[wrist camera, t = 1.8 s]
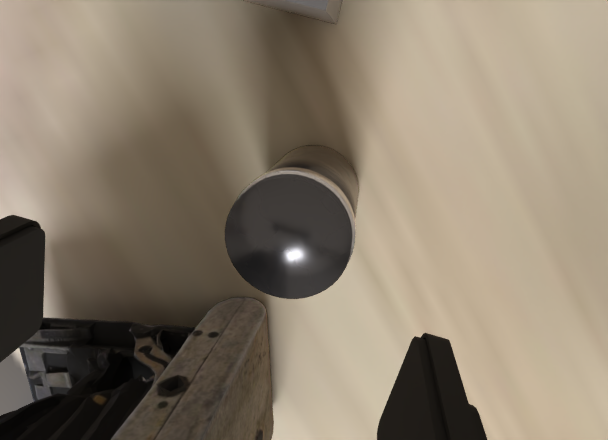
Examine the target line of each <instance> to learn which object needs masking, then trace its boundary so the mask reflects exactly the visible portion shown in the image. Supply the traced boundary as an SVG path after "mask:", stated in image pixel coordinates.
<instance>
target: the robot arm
mask: <svg viewBox="0 0 608 440" xmlns="http://www.w3.org/2000/svg"><path fill="white" fill-rule="evenodd" d="M44 261H45V232H44V231H43V230H42V229H41V227H40V225H39V223H38V222H36V221H33V220H30V219H26V218H23V217H19V216H15V215H11V216H7V217H5V218H2V219H0V362H1V361H2V360H4V359H5V358H6V357H7V356H9V355H10V354H11V353H12V352H14V351H15V350H16V349H17V348H19V347H20V346H21V345H22V344H24V343H25V342H26V341H27V340H28V339H30V338H31V337H32V336H33V335H35V334H36V333H37V331H38V330H39V329H40V327H41V325H42V321H43V298H44ZM377 440H487V437H486V434H485V431H484V428H483V425H482V422H481V419H480V416H479V413H478V411H477V409H476V408H475V407H474V406H473V405H470V404H469V403H468V400H467V397H466V393H465V390H464V387H463V384H462V380H461V377H460V374H459V370H458V367H457V364H456V360H455V357H454V354H453V350H452V347H451V344H450V341H449V340H448V339H445V338H441V337H438V336H434V335H431V334H427V333H424V334H423V335H422V336H421V338H419V337H416V336H415V337H414V338H413V339H412V341H411V344H410V346H409V349H408V351H407V354H406V356H405V359H404V361H403V364H402V366H401V369H400V371H399V374H398V376H397V379H396V381H395V384H394V386H393V389H392V391H391V394H390V396H389V399H388V401H387V404H386V406H385V409H384V411H383V414H382V416H381V419H380V421H379V425H378V431H377Z"/></svg>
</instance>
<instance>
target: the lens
mask: <svg viewBox="0 0 608 440" xmlns="http://www.w3.org/2000/svg"><path fill="white" fill-rule="evenodd" d="M358 193H359V186H358V180H357V176H356V173H355V171H354V169H353V168H352V166H351V165H350V163H349V162H348V161H347V160H346V159H345V158H344V157H343V156H342V155H341V154H339V153H338V152H336V151H334V150H332V149H330V148H327V147H324V146H318V145H308V146H302V147H299V148H296V149H294V150H292V151H290V152H289V153H287V154H286V155H285V156H284V157H283V158H282V159H281V160H279V161H278V162H277V163H276V164H275V165H274V166H273V167H272V168H271V169H270V170H268V171H267V172H266V173H265V174H263V175H261V176H259V177H258V178H257V179H255V180H254V181H253V182H252V183H251V184H249V185H248V186H247V187H246V188H245V189H244V190H243V191H242V192H241V194H240V195H239V196H238V198H237V200H236V201H235V203H234V205H233V207H232V208H231V210H230V213H229V215H228V218H227V222H226V227H225V242H226V248H227V251H228V255H229V257H230V259H231V261H232V263H233V265H234V267H235V268H236V270H237V271H238V272H239V274H240V275H241V276H242V277H243V278H244V279H245V280H246V281H247V282H248V283H250V284H251V285H252V286H254V287H255V288H257V289H258V290H260V291H262V292H264V293H266V294H269V295H272V296H275V297H280V298H287V299H299V298H306V297H310V296H313V295H316V294H318V293H320V292H322V291H324V290H326V289H327V288H329V287H330V286H331V285H333V284H334V283H335V282H336V281H337V280H338V278H339V277H340V276H341V275H342V273H343V271H344V270H345V268H346V266H347V263H348V262H349V260H350V257H351V255H352V252H353V248H354V243H355V234H356V223H355V217H356V209H357V202H358Z"/></svg>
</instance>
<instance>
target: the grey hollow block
mask: <svg viewBox="0 0 608 440" xmlns="http://www.w3.org/2000/svg"><path fill="white" fill-rule="evenodd" d="M243 1H247V2H251V3H255V4H259V5H263V6H267V7H271V8H275V9H279V10H282V11H286V12H290V13H294V14H298V15H302V16H306V17H310V18H314V19H318V20H322V21H326V22H329V23H333V24H337V20H338V16H339V12H340V8H341V4H342V0H243Z"/></svg>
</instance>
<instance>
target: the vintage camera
mask: <svg viewBox="0 0 608 440" xmlns="http://www.w3.org/2000/svg"><path fill="white" fill-rule="evenodd" d="M19 348H20V352H21V356H22V359H23V363H24V367H25V370H26V374H27V378H28V381H29V385H30V389H31V392H32V396H33V400H34V402H32V403H30V404H28V405H26V406H24V407H22V408H20V409H18V410H16V411H12V412H9V413H6V414H3V415H1V416H0V440H271V438H272V434H273V424H274V421H273V408H272V389H271V374H270V357H269V344H268V325H267V313H266V308H265V307H264V305H263V304H262V303H261V302H259V301H257V300H255V299H254V298H244V297H239V298H230V299H227V300H225V301H222V302H220V303H217V304H216V305H215V306H214V307H213V308H211V309H210V310H209V311H208V313H207V314H206V316H205V317H204V318H203V319H202V320H201V322H200V323H199V324H198V325H197V327H196V328H191V327H181V326H170V325H154V326H151V325H145V324H139V323H134V322H121V321H101V320H78V319H62V318H43V321H42V325H41V327H40V329H39V330H38V331H37V333H36V334H35V335H33V336H32V337H31V338H30V339H28V340H27V341H26V342H25V343H24V344H22V345H21V346H20V347H19Z"/></svg>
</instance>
